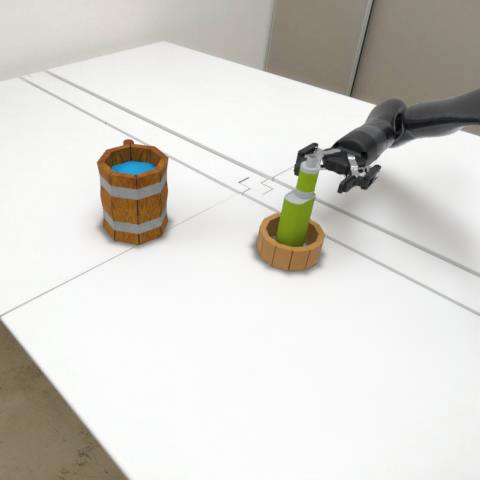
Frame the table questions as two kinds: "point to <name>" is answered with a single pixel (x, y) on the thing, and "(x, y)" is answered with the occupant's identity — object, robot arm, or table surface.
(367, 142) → the robot arm
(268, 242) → the wooden ring
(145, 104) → the table surface
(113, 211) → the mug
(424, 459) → the table surface
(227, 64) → the table surface
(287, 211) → the vape
